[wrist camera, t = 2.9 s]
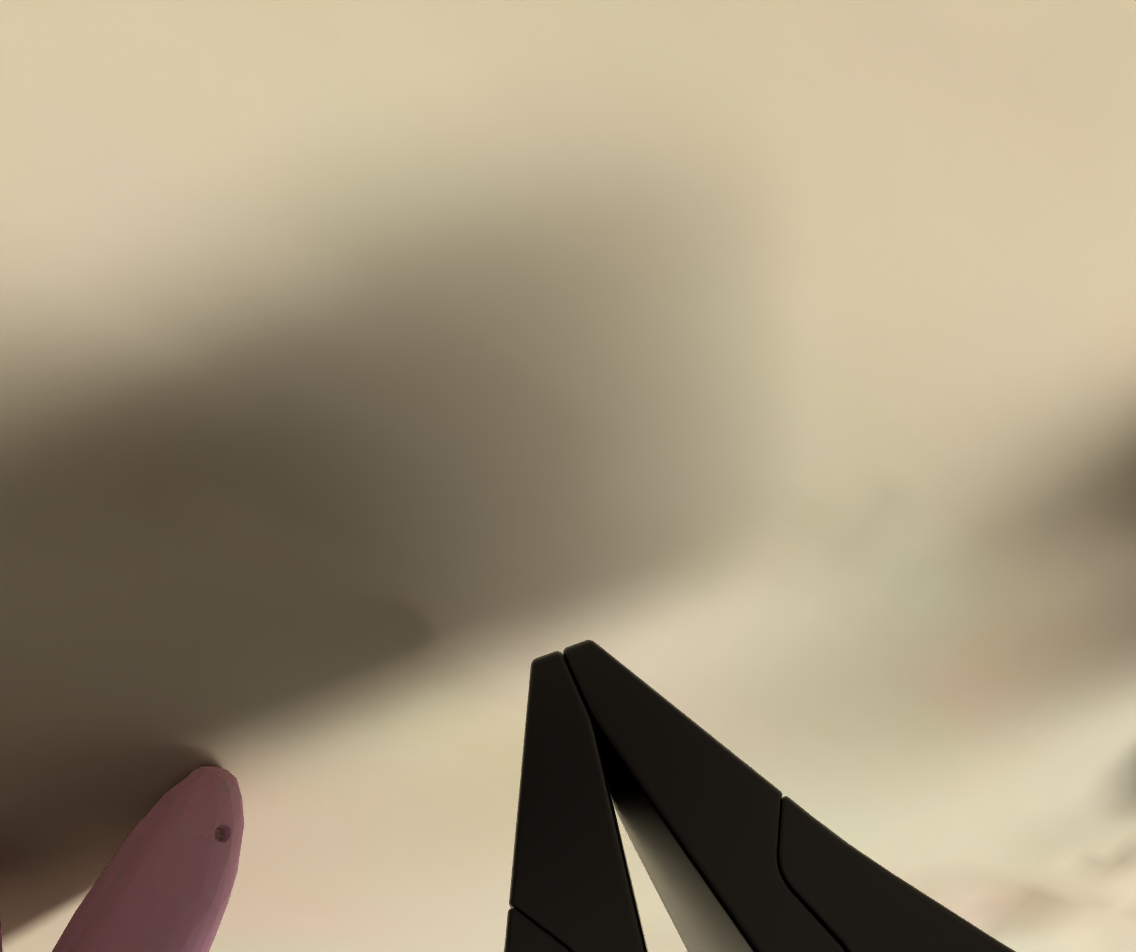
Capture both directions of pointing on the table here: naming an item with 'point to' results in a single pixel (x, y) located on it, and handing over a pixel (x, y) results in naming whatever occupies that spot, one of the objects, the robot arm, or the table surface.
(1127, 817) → the table surface
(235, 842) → the video game controller
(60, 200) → the table surface
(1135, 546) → the table surface
